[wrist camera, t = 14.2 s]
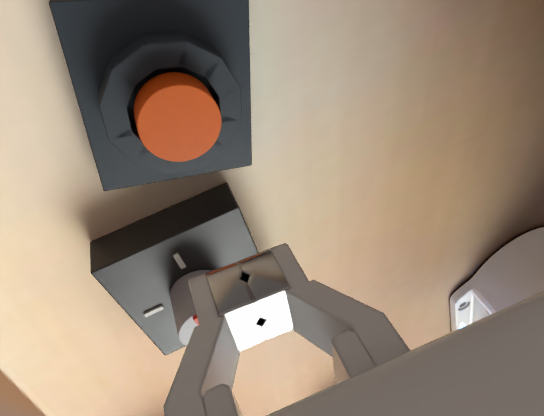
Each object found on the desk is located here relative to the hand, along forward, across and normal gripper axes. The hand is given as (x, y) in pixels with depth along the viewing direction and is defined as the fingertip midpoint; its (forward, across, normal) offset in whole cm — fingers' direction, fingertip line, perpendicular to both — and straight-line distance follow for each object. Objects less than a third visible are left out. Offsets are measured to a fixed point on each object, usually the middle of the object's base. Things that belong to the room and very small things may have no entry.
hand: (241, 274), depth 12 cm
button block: (+15, 0, 0) cm, 15 cm away
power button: (+12, 0, 0) cm, 12 cm away
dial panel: (+15, +2, +14) cm, 20 cm away
